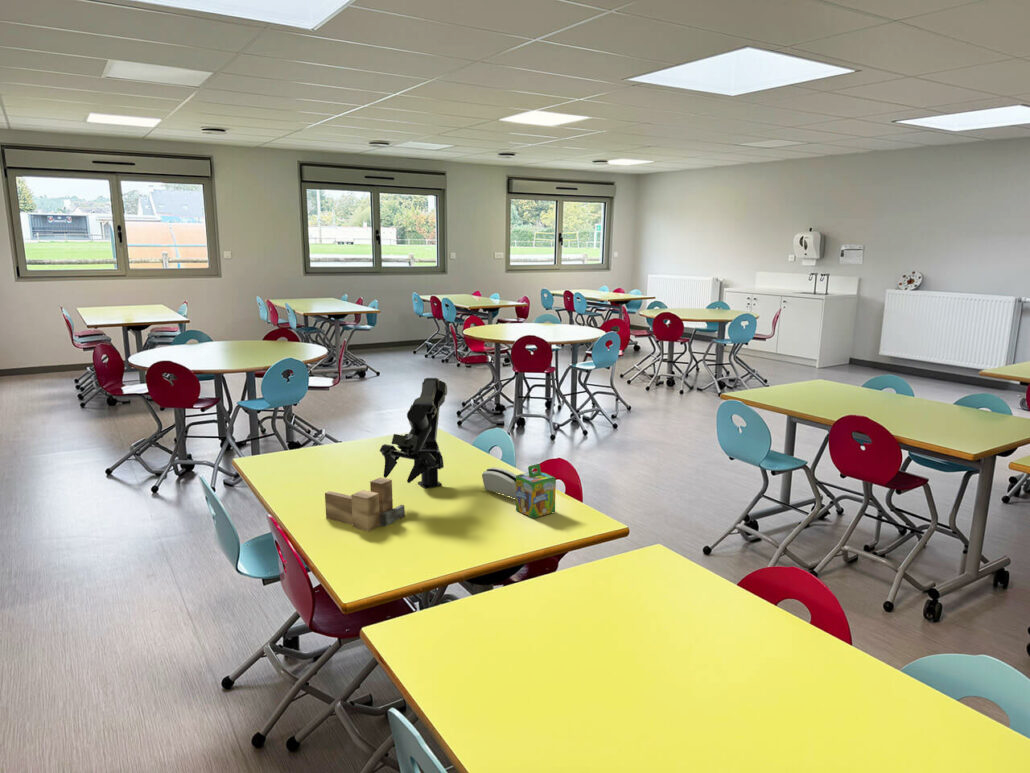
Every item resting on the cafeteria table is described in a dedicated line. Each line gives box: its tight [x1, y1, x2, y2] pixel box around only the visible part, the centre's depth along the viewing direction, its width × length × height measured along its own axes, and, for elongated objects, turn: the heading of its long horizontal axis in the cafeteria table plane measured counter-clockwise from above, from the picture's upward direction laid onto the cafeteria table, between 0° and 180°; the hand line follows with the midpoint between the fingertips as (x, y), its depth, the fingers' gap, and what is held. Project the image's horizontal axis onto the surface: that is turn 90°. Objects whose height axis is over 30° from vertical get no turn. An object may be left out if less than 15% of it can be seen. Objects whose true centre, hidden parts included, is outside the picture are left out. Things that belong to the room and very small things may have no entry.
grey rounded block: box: [481, 467, 518, 500], centre depth 231 cm, size 17×5×10 cm, turn 46°
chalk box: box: [515, 463, 557, 519], centre depth 215 cm, size 9×9×15 cm
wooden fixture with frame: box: [324, 489, 406, 532], centre depth 210 cm, size 14×20×10 cm
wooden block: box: [369, 477, 394, 513], centre depth 210 cm, size 5×5×12 cm
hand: (396, 479), depth 215 cm, fingers open, 9 cm apart
